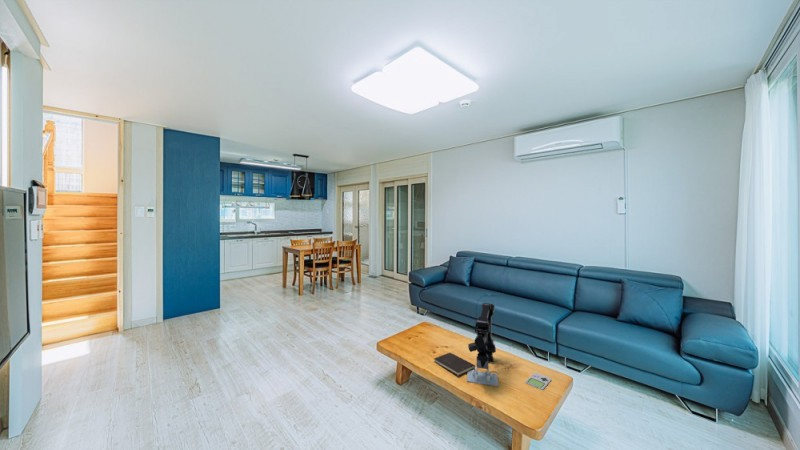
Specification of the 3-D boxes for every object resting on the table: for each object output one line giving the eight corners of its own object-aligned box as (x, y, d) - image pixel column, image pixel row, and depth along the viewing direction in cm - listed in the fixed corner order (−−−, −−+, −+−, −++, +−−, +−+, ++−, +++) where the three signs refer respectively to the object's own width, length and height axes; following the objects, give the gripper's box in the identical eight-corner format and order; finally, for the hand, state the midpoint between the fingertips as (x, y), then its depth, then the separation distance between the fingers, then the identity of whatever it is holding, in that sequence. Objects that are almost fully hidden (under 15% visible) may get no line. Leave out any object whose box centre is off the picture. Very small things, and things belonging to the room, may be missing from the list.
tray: (467, 371, 180) (467, 364, 180) (496, 375, 176) (496, 368, 176) (467, 381, 169) (467, 374, 169) (498, 386, 164) (498, 379, 164)
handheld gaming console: (551, 378, 170) (542, 388, 160) (551, 380, 170) (542, 391, 160) (534, 371, 177) (524, 381, 167) (534, 373, 178) (524, 383, 167)
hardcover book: (458, 376, 173) (457, 372, 173) (433, 361, 192) (433, 358, 192) (475, 368, 182) (475, 364, 182) (450, 355, 201) (450, 352, 201)
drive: (476, 363, 175) (476, 356, 175) (488, 365, 173) (488, 357, 173) (476, 367, 171) (476, 359, 171) (488, 369, 169) (488, 361, 169)
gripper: (469, 332, 183) (469, 355, 183) (468, 345, 165) (468, 371, 165) (486, 334, 180) (486, 357, 180) (488, 347, 162) (488, 373, 162)
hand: (482, 364), depth 172 cm, fingers closed on drive, 4 cm apart
